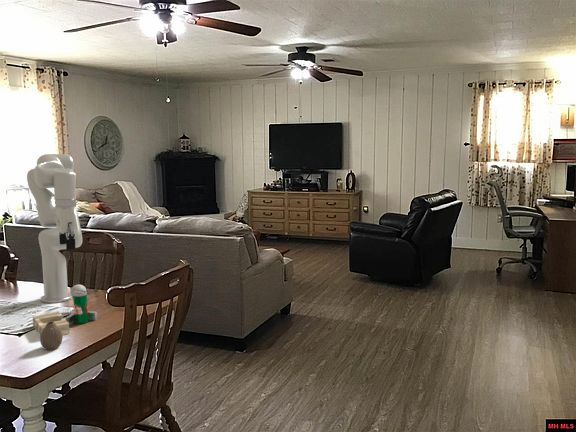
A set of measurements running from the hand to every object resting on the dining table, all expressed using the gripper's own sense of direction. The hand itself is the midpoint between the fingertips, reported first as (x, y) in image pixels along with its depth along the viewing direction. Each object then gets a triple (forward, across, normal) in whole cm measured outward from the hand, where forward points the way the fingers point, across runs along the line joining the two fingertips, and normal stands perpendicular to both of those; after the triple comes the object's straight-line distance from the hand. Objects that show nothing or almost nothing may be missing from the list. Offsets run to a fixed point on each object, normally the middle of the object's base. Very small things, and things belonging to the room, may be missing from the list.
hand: (67, 246), depth 197 cm
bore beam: (+28, +10, -10) cm, 32 cm away
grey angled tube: (+29, +5, +2) cm, 29 cm away
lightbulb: (+29, -6, +5) cm, 31 cm away
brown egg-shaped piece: (+28, +28, -13) cm, 42 cm away
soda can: (+29, +8, +2) cm, 30 cm away
